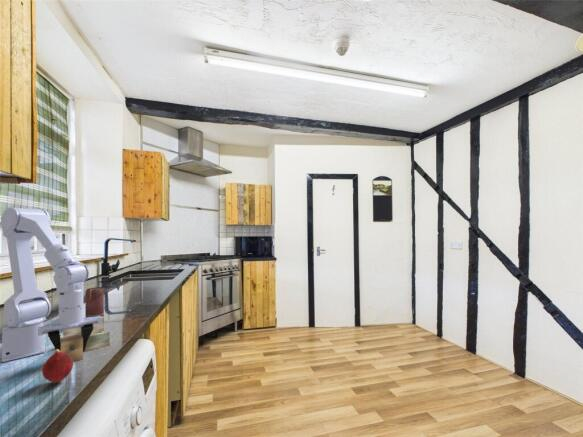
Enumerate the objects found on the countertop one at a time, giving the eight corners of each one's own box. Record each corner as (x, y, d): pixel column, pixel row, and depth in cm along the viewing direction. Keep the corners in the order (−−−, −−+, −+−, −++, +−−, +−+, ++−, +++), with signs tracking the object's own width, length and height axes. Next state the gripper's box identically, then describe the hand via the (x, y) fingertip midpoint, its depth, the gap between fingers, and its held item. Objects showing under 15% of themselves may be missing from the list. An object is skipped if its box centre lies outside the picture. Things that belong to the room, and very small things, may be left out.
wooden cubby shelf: (66, 355, 87) (67, 331, 87) (63, 345, 94) (63, 323, 94) (109, 344, 94) (109, 322, 94) (103, 336, 101) (103, 316, 102)
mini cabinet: (60, 365, 80) (61, 343, 80) (58, 359, 84) (59, 338, 84) (83, 359, 84) (83, 338, 84) (80, 353, 88) (80, 333, 88)
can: (82, 327, 112) (82, 290, 112) (88, 322, 118) (89, 287, 118) (100, 325, 113) (100, 289, 114) (106, 320, 120) (106, 286, 120)
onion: (78, 376, 74) (78, 344, 74) (61, 388, 68) (61, 354, 69) (54, 377, 74) (55, 345, 74) (35, 389, 68) (36, 354, 68)
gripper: (38, 314, 77) (38, 367, 76) (103, 304, 87) (103, 350, 86) (37, 309, 82) (36, 358, 81) (98, 300, 92) (98, 344, 91)
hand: (70, 354), depth 84 cm, fingers closed on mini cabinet, 5 cm apart
